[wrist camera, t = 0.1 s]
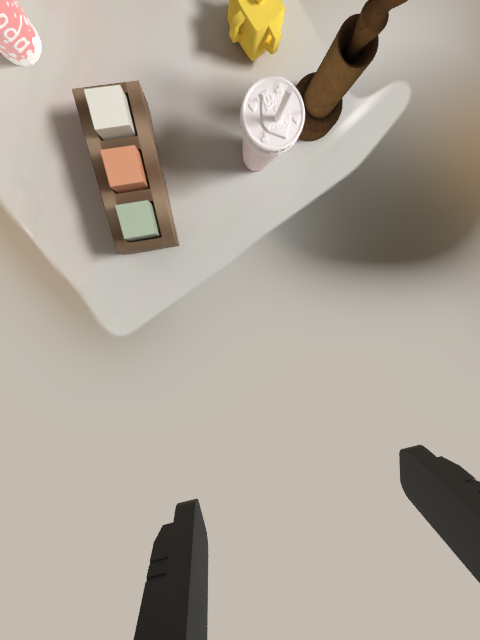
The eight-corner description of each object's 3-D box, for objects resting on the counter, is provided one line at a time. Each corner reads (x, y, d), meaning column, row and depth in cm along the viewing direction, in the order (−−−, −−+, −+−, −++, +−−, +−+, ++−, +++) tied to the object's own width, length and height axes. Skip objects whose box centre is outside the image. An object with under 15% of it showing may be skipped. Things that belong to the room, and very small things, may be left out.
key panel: (89, 111, 30) (71, 89, 27) (147, 103, 31) (138, 80, 27) (128, 254, 34) (117, 252, 30) (179, 245, 35) (175, 242, 31)
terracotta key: (111, 161, 29) (100, 149, 27) (142, 156, 30) (134, 145, 27) (119, 194, 30) (110, 186, 27) (149, 189, 30) (143, 181, 28)
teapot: (207, 20, 30) (207, -30, 25) (245, -14, 30) (252, -71, 25) (248, 85, 32) (255, 51, 27) (284, 54, 32) (298, 14, 26)
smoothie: (247, 191, 34) (271, 143, 21) (223, 145, 33) (231, 60, 19) (288, 166, 34) (338, 101, 21) (264, 118, 33) (303, 14, 19)
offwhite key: (97, 107, 28) (83, 89, 25) (129, 103, 28) (120, 84, 26) (106, 143, 29) (94, 129, 26) (137, 138, 29) (129, 124, 26)
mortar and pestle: (306, 152, 34) (406, 34, 17) (276, 109, 33) (350, -71, 15) (343, 117, 34) (486, -42, 16) (314, 72, 32) (437, -158, 15)
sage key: (124, 211, 31) (115, 205, 28) (153, 206, 31) (147, 200, 28) (132, 241, 31) (124, 238, 29) (160, 236, 32) (155, 233, 29)
